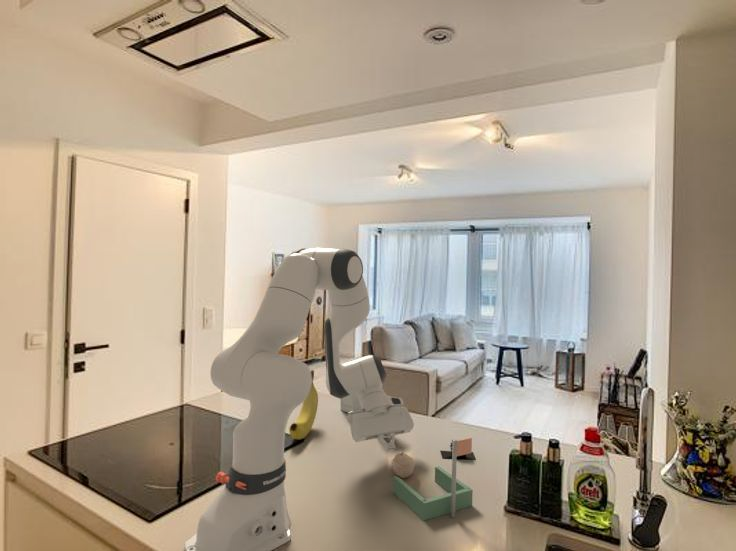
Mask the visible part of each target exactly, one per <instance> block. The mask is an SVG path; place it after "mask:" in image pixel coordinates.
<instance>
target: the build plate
mask: <svg viewBox="0 0 736 551" xmlns="http://www.w3.org/2000/svg"><path fill="white" fill-rule="evenodd" d="M453 440H454V439H451V442H450V445H449V448H450V450H439V452H440V455H441V458H442V460H452V446H453ZM457 460H460V461H477V459H476V456H475V454H474V451H471V453H470V454H465V455H461V456H457ZM457 460H456V461H457Z"/></svg>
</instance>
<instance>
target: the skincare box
mask: <svg viewBox="0 0 736 551" xmlns="http://www.w3.org/2000/svg"><path fill="white" fill-rule="evenodd" d="M339 400H340V411H342V412H344V413H347V414H348V413H350V411H352V410H359V409H361V406H360V403H359V396H358V394H357V393H353V394H350V395H349V396H346V397H344V398H342V399H340V398H339Z"/></svg>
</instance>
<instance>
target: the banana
mask: <svg viewBox="0 0 736 551" xmlns="http://www.w3.org/2000/svg"><path fill="white" fill-rule="evenodd" d="M310 372H311V376H312V386H311V390H310V392H309V394H308V396H307V398H306V399H305V400H304V401H303V402H302V403H301V404H302V405H301V408H300V411H299V415H298V417H297V419H296V421H293V423H291V425H290V426H289V430H288V431H289V435H290V437H291V438H292V439H294V440H302V439H303V440H304V439H305V438H306V437H307V436H308V434H310V431H311V430H312V428H313V425H314V423H315V419H316V415H317V412H318V406H319V405H318V404H319V395H318V391H317V389H316V387H315V385H314V378H315V376H314V375H315V371H314V370H313V369H310Z"/></svg>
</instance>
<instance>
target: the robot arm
mask: <svg viewBox="0 0 736 551" xmlns="http://www.w3.org/2000/svg"><path fill="white" fill-rule="evenodd" d="M363 274H364V265H363V261H362V259H361V258H360V256H359V254H358V253H357V252H356V251H354V250H351V249H347V248H329V247H313V248H300V249H296V250H294V251H292V252H291V253H290V254H288V255H286V256H285V257H284V258H283V259H282V260H281V262H280V264H279V265H278V267H277V268H276V270H275V272H274V274H273V275H272V277H271V280H270V281H269V283H268V287H267V288H266V291H265V294H264V297H263V299H262V301H261V303H260V305H259V308H258V310H257V312H256V314H255V317H254V318H253V319H252V320H253V321H252V322H251V324H250V325H249V326H248V328H247V329H246V330H245V331H244V332H243V334H242V335H241V336H240V337H239V339H237V340H236V342H234V343H233V344H232V345H231V346H230V347H228V348H226V349H224V350H223V351H221V352H219V353H218V354H217V355H216V357H215V358H214V359H213V362H212V364H211V367H210V380H211V382H212V384H213V385H214V386H215V387H216V388H217V389H218V390H220V391H221V392H223V393H225V394H226V395H228V396H230V397H234V398H238V399H242V400H245V401H249V404H250V409H249V413H248V417H246V418H245V419H243V420H242V421H240V422H239V423H238V424H237V425H236V426H235V428H234V430H233V433H232V463H231V464H230V466H229V471H228V473H225V472H224V471H219V472H218V473H217V475H216V476H215V480H216V482H218V483H221V484H223V485H224V484H225V486H224V487H223V488H222V489H221V490H220V492H219V493H218V494H217V496H215V498H214V499H213V500H212V502H211V503H210V504H209V505H208V506H207V508H205V510H204V511H203V512H202V514H201V515H200V518H199V520H198V524H197V530H196V533H195V534H194V535H193V536H192V537H190V538H189V539H188V540H186V541H185V542H184V546H183V547H184V548H183V550H184V551H273V550H275V549H277V548H278V547H281V546H282V545H284V544H286V543H288V542H289V541H290V540H291V538H292V537H291V530H290V527H291V526H290V525H291V519H290V516H289V512H288V507H287V496H286V489H285V480H286V476H287V475H286V474H287V467H286V466H287V465H286V464H287V463H286V459H285V442H286V441H285V438H286V428H287V424H288V421H289V418H290V416H291V415H292V413H293V411H295V409H296V408H297V407H299V406H301V404H303V401H304V400H305V399H306V398H307V396H308V394H309V392H310V390H311V386H312V376H311V369H310V367H309V366H308V364H307V363H305V362H303V361H301V360H300V359H297V358H295V357H293V356H290V355H289V354H281V353H279V352H280V351H281V350H282V348H283V347H284V346H286V345H287V344H289V342H291V341H293V340H296V339H297V338H298V337H299V336H300V335H301V334H302V332H303V330H304V326H305V324H306V321H307V318H308V316H309V312H310V309H311V307H312V303H313V301H314V296H315V293H316V289H317V290H321V291H328V296H329V300H330V304H331V309H330V310H331V311H330V314H329V317H327V318H326V319H325V321H324V326H323V327H324V328H323V330H324V331H323V332H324V333H323V334H324V352H325V353H324V354H325V384H326V389H327V390H328V393H329V395H330V396H333V397H334V398H337V399H339V400H340V399H342V398H344V397H346V396H349V395H350V394H353V393H357V394H358V396H359V403H360V406H361V409H359V410H352V411H350V413H347V416H346V417H347V421H348V423H349V426H350V434H351V438H352V440H353V441H354V442H355V443H359V442H364V441H370V440H375V439H377V442H378V443H379V444H380V445H381V446H382V448H383V450H384V452H390V451H394V450H396V445H395V444H396V443H395V438H396V435H402V434H407V433H410V432H411V431H413V429H414V427H415V426H414V425H415V423H414V420H413V418H412V416H411V414H410V412H409V410H408V408H407V407H406V406H404V400H403V398H401V397H396V396H390V395H388V394H387V393H386V391H384V389H383V386H382V385H384V383H385V381H386V379H387V372H386V369H385V367H384V365H383V363H382V359H381V358H380V357H378V356H376V355H374V354H369V355H365V356H362V357H361V356H360V357H358V358H356V359H353V360H349V361H346V362H343V363H341V362H340V360H341V359H340V344H341V342H342V340H343V339H344V338H345V337H346V336H347V335H348V334H350V333H351V332H352V331H354V330H356V329H357V328H358V327H360V326H361V325H362V324H364V322H365V321H366V320H367V318H368V316H369V314H370V310H371V305H370V298H369V293H368V288H367V286H366V285H367V284H366V281H365V278H364V276H363ZM387 436H388V437H387ZM384 437H387V438H388V440H389V442H387V441H386V439H385V438H384Z"/></svg>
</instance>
